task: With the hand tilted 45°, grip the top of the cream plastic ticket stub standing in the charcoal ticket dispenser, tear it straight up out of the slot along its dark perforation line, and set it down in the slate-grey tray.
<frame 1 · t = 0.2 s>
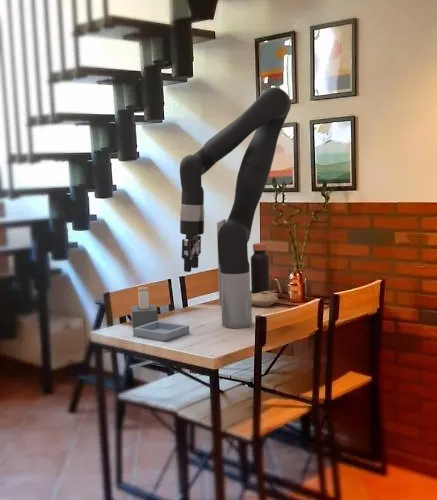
hand: (191, 269, 220), 18 cm above the table, tool pointing down, fingers open, 8 cm apart
tray: (161, 335, 211), on the table
bottle: (260, 296, 265), on the table
ticket stub: (144, 315, 224), point 3 cm above the table, touching ticket dispenser
ticket dispenser: (144, 324, 225), on the table
brochure: (230, 301, 257), on the table
pottery oil lamp: (260, 306, 248), on the table
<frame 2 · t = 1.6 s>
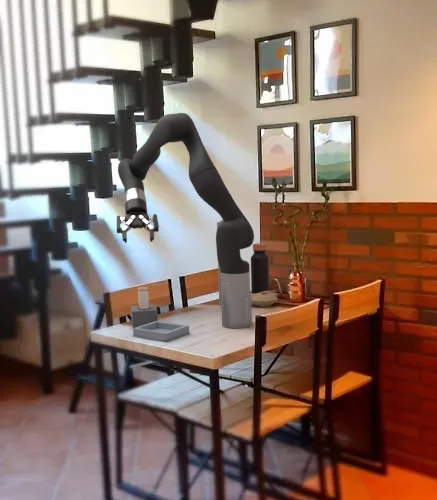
hand: (138, 240, 232), 26 cm above the table, tool tilted 45°, fingers open, 8 cm apart
nothing on the table moved.
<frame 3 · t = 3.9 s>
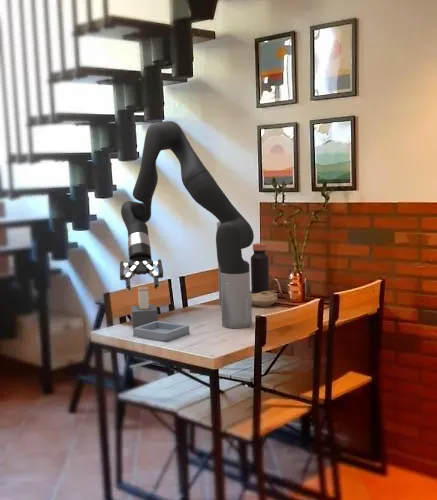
hand: (142, 288, 226), 12 cm above the table, tool tilted 45°, fingers open, 8 cm apart
nothing on the table moved.
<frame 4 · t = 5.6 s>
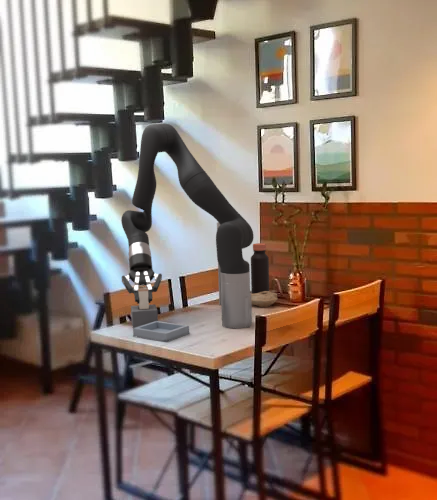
hand: (144, 301, 222), 8 cm above the table, tool tilted 45°, fingers closed on ticket stub, 3 cm apart
ticket stub: (144, 315, 224), point 3 cm above the table, touching gripper, ticket dispenser
everything else where it was.
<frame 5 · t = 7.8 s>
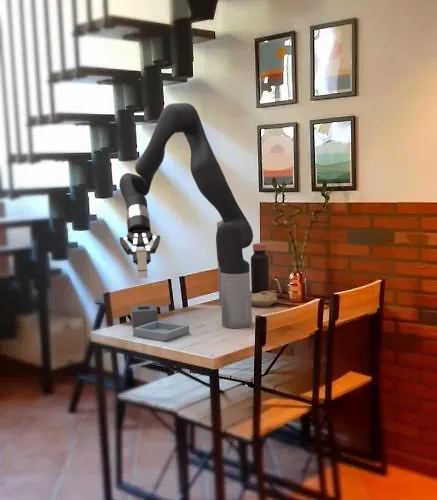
hand: (142, 262, 220), 21 cm above the table, tool tilted 45°, fingers closed on ticket stub, 3 cm apart
ticket stub: (142, 277, 223), point 16 cm above the table, touching gripper
everything else where it was.
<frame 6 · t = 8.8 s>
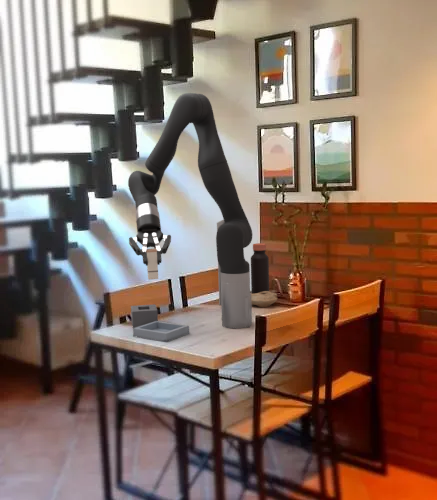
hand: (152, 263, 211), 22 cm above the table, tool tilted 45°, fingers closed on ticket stub, 3 cm apart
ticket stub: (153, 278, 214), point 17 cm above the table, touching gripper
everything else where it was.
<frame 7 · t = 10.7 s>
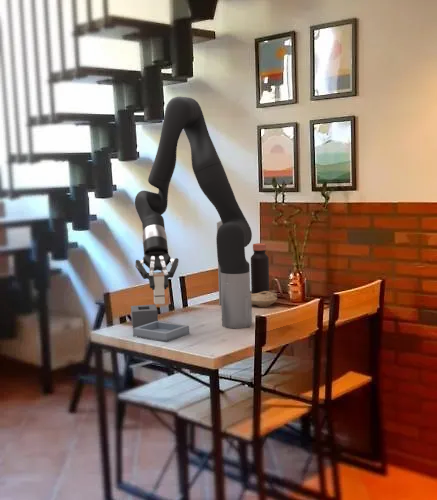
hand: (159, 288, 207), 15 cm above the table, tool tilted 45°, fingers closed on ticket stub, 3 cm apart
ticket stub: (159, 302, 210), point 10 cm above the table, touching gripper
everything else where it was.
when the fingers open (7 cm above the table, at t = 12.5 s): ticket stub drops 1 cm, resting on tray.
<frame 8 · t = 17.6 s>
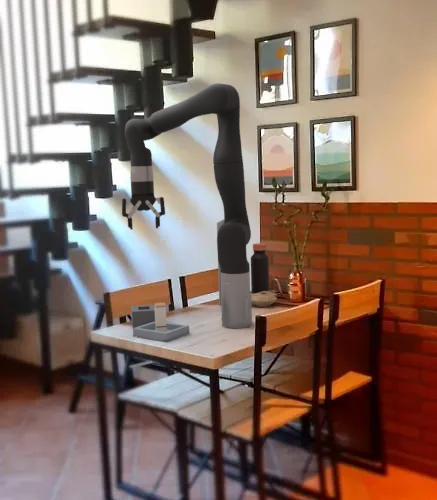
hand: (144, 228, 232), 30 cm above the table, tool pointing down, fingers open, 8 cm apart
ticket stub: (161, 333, 211), point 1 cm above the table, touching tray
everything else where it was.
at the end: ticket stub inside the target area on the tray (0.0 cm from its centre), point 0.6 cm above the tray's base; ticket stub touching tray; the gripper is holding nothing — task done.
